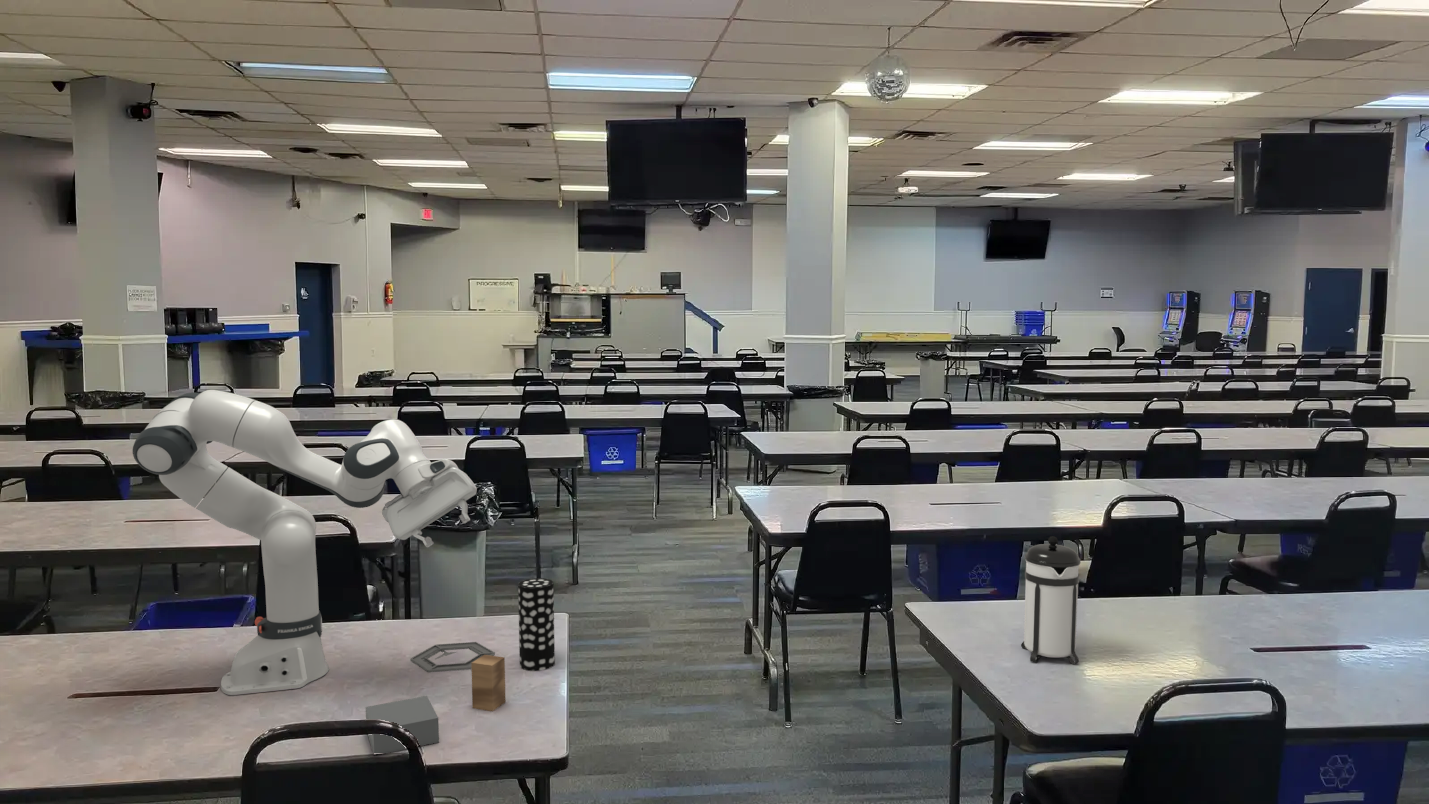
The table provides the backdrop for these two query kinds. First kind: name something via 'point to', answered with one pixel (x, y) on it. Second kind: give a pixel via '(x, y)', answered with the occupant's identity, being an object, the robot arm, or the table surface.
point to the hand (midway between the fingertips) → (448, 533)
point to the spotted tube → (536, 624)
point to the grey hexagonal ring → (432, 667)
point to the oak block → (488, 682)
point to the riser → (405, 722)
